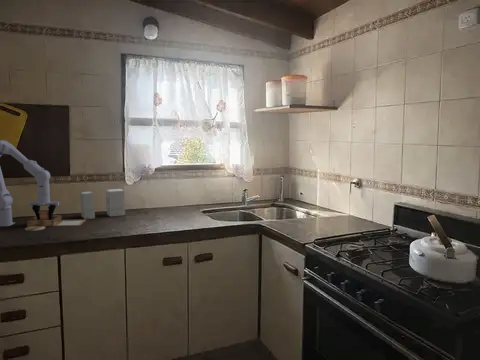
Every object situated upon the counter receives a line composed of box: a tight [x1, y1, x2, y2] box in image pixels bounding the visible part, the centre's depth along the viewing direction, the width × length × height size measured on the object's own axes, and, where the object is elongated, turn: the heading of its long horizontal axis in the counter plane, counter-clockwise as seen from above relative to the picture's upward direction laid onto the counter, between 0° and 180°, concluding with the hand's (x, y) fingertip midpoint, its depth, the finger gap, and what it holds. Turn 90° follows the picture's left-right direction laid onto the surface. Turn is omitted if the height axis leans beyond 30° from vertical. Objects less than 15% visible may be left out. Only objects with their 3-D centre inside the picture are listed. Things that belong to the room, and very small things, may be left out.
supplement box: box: [105, 188, 126, 217], centre depth 232 cm, size 9×9×15 cm
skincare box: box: [79, 191, 96, 220], centre depth 222 cm, size 8×6×15 cm
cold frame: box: [26, 214, 63, 228], centre depth 205 cm, size 13×13×4 cm
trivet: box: [24, 226, 46, 232], centre depth 195 cm, size 9×9×1 cm
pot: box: [38, 209, 49, 220], centre depth 205 cm, size 6×6×6 cm
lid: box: [54, 219, 87, 227], centre depth 207 cm, size 12×13×1 cm
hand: (44, 219), depth 205 cm, fingers closed on pot, 5 cm apart
